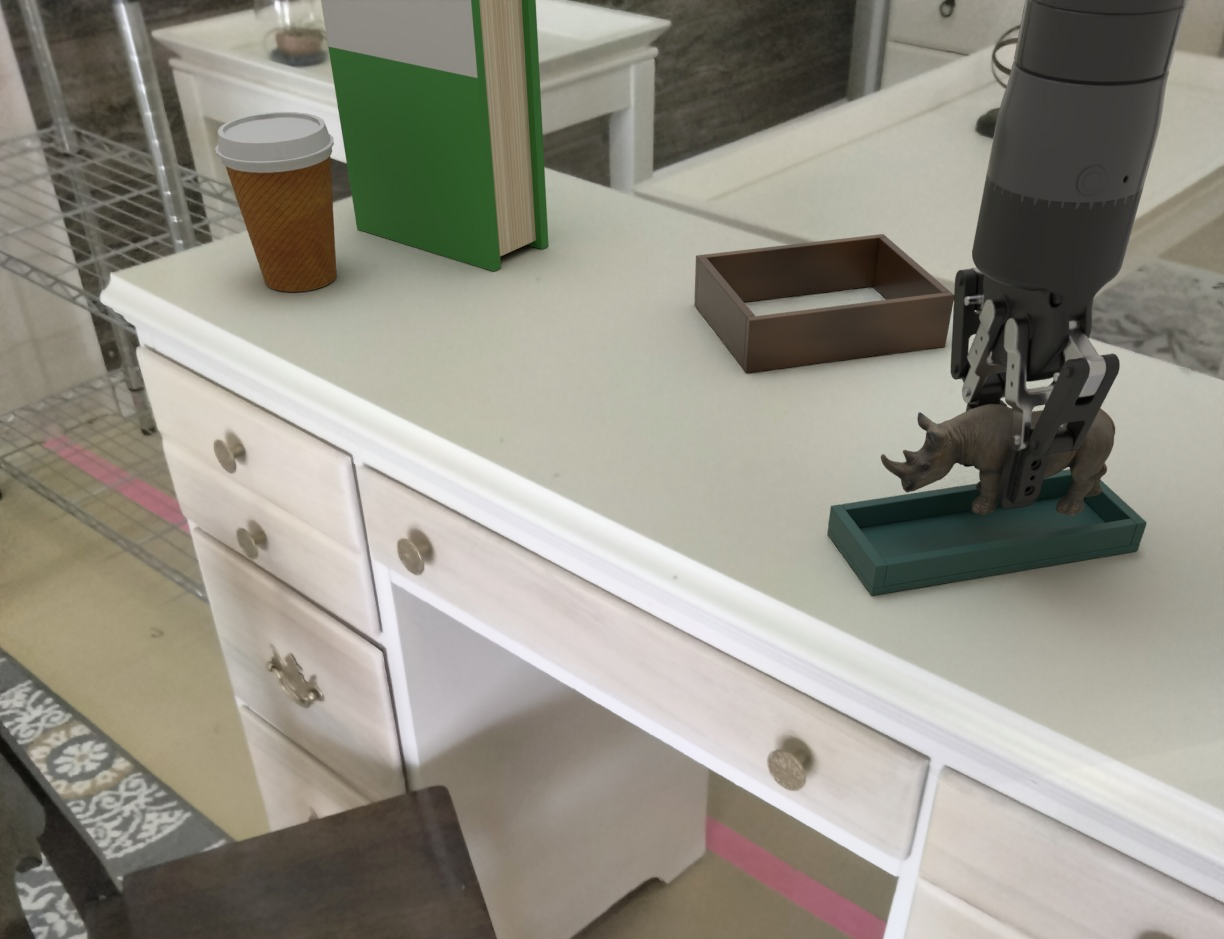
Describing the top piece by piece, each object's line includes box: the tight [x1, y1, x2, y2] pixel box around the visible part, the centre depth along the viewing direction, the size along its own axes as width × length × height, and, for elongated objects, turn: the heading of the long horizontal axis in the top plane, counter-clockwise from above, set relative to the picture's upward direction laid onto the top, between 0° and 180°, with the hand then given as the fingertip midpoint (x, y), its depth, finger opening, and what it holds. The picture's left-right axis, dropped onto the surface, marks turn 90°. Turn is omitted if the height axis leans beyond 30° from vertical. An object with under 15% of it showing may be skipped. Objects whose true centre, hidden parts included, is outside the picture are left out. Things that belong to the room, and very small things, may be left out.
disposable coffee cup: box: [215, 111, 338, 293], centre depth 102 cm, size 10×10×12 cm
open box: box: [693, 233, 954, 374], centre depth 96 cm, size 16×13×4 cm
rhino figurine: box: [880, 404, 1116, 516], centre depth 70 cm, size 4×14×6 cm, turn 89°
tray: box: [827, 468, 1148, 596], centre depth 74 cm, size 17×7×2 cm, turn 104°
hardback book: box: [320, 0, 549, 272], centre depth 104 cm, size 18×7×24 cm, turn 51°
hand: (994, 481), depth 71 cm, fingers closed on rhino figurine, 4 cm apart
